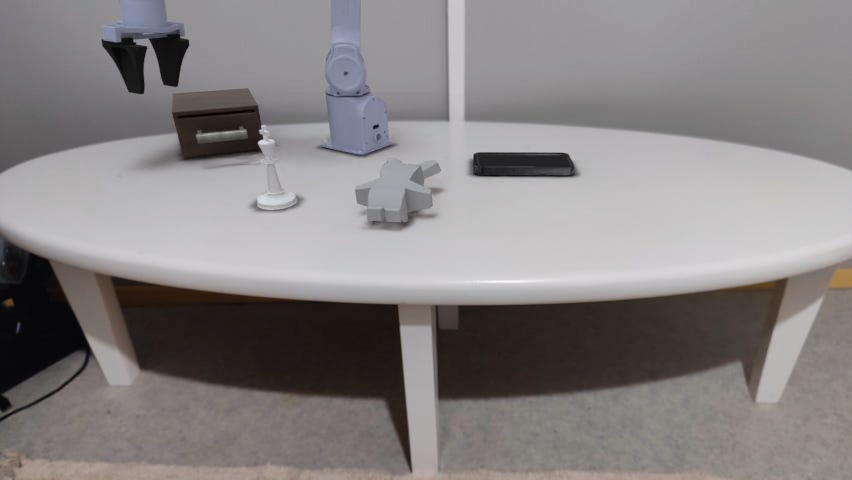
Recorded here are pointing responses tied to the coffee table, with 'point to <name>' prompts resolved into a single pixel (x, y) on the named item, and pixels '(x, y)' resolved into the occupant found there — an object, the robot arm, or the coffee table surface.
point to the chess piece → (272, 178)
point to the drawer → (219, 132)
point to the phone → (522, 163)
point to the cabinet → (212, 109)
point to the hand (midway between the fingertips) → (154, 89)
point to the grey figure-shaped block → (397, 190)
